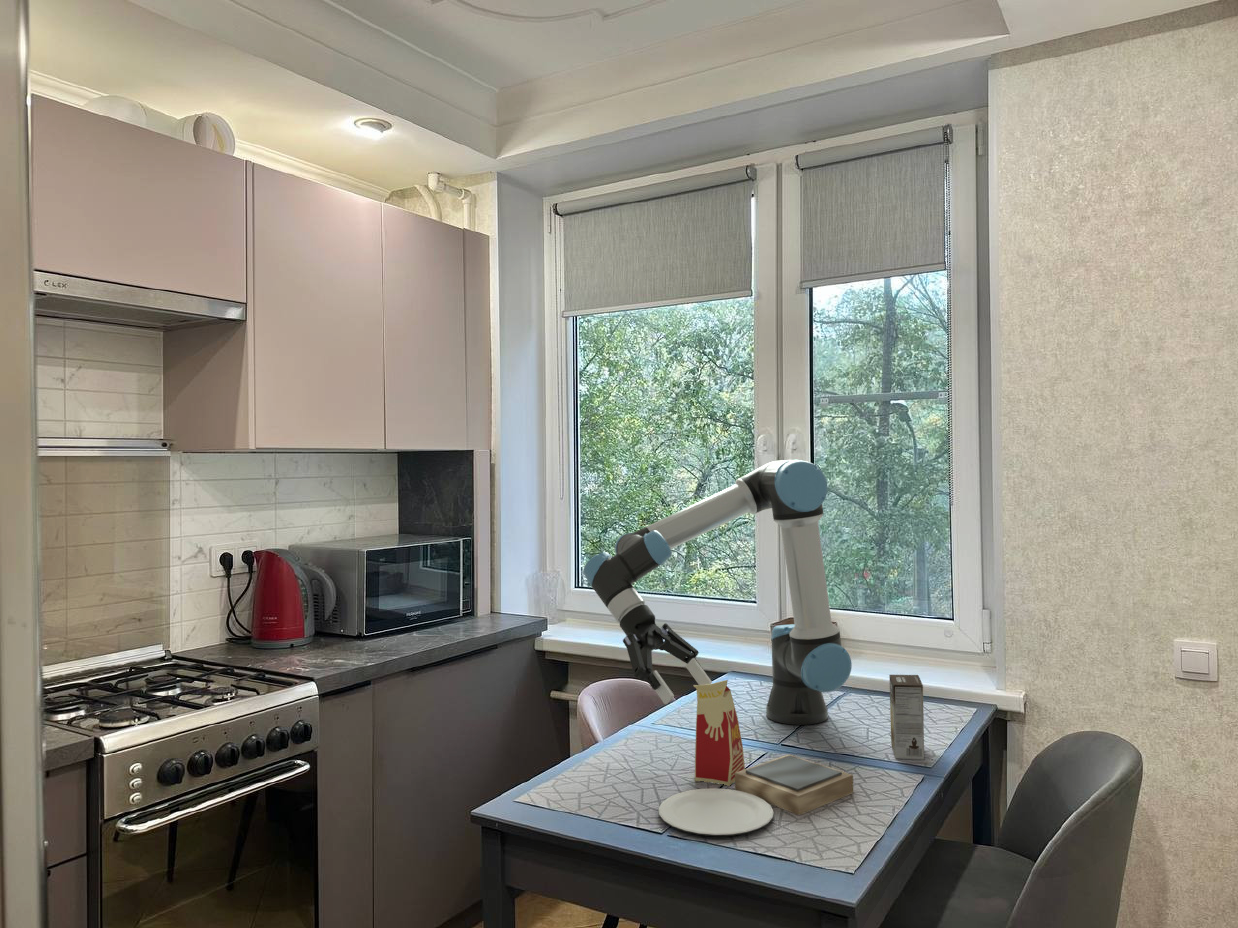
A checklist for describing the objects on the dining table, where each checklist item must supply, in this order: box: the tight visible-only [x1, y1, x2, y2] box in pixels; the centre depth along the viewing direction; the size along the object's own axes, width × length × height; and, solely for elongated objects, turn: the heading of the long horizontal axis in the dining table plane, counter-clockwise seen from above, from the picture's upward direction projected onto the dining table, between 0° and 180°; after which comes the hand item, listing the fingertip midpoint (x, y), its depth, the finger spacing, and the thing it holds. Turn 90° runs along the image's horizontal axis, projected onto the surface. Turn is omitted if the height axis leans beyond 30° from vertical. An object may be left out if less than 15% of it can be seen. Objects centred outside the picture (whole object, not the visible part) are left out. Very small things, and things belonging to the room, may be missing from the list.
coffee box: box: [889, 674, 925, 761], centre depth 191 cm, size 9×6×16 cm
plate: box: [658, 787, 775, 837], centre depth 159 cm, size 21×21×2 cm
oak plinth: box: [734, 754, 854, 816], centre depth 170 cm, size 16×16×4 cm
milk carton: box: [692, 679, 746, 787], centre depth 179 cm, size 9×9×20 cm
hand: (689, 693), depth 182 cm, fingers open, 13 cm apart
